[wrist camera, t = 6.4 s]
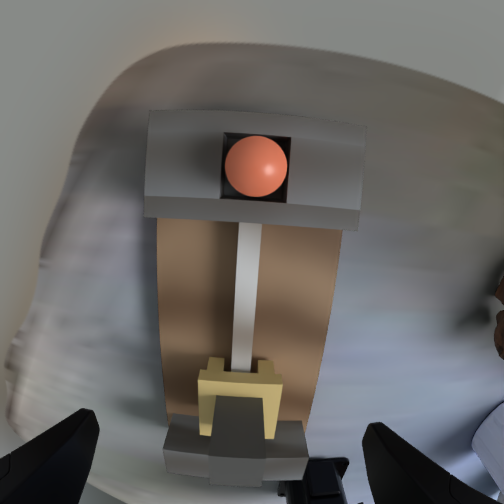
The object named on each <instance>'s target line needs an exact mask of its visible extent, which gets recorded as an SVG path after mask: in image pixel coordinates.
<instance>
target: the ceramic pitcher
mask: <svg viewBox="0 0 504 504" xmlns="http://www.w3.org/2000/svg"><path fill="white" fill-rule="evenodd" d="M497 501H498V502H500V503H503V504H504V495H503V494H502V492H501V491H500V493H499V496H498V499H497Z"/></svg>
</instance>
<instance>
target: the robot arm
mask: <svg viewBox="0 0 504 504" xmlns="http://www.w3.org/2000/svg"><path fill="white" fill-rule="evenodd" d="M99 431H100V428H99V424H98V422H97V419H96V416H95V413H94V411H93V410H89V409H85V408H81V409H79V410H78V411H76V412H75V413H73V414H72V415H70V416H69V417H67V418H65V419H64V420H62V421H61V422H59V423H58V424H56V425H54V426H53V427H51V428H50V429H48V430H46V431H45V432H43V433H42V434H40V435H38V436H37V437H35V438H34V439H32V440H30V441H29V442H27V443H26V444H24V445H22V446H21V447H19V448H17V449H16V450H14V451H12V452H11V454H7V455H6V456H4V457H2V458H0V504H78V503H79V500H80V497H81V494H82V492H83V489H84V486H85V483H86V480H87V478H88V475H89V472H90V469H91V465H92V461H93V457H94V453H95V448H96V444H97V440H98V436H99ZM362 447H363V453H364V458H365V464H366V471H367V476H368V481H369V485H370V489H371V492H372V495H373V499H374V502H375V504H503V503H500V502H498V501H496V500H494V499H492V498H490V497H488V496H486V495H484V494H482V493H480V492H479V491H477V490H475V489H473V488H471V487H470V486H468V485H466V484H465V483H463V482H462V481H460V480H459V479H457V478H456V477H455V476H453V475H450V473H449V472H447V471H446V470H445V469H443V468H442V467H440V466H439V465H438V464H436V463H435V462H434V461H432V460H431V459H429V458H428V457H427V456H425V455H424V454H423V453H421V452H420V451H419V450H417V449H416V448H415V447H413V446H412V445H411V444H409V443H408V442H407V441H405V440H404V439H403V438H401V437H400V436H399V435H397V434H396V433H395V432H394V431H392V430H391V429H390V428H388V427H387V426H386V425H385V424H383V423H382V422H375V423H370V424H369V425H368V427H367V429H366V432H365V434H364V437H363V439H362ZM348 465H349V459H347V458H342V459H331V460H317V461H308V462H307V465H306V468H305V471H304V474H303V477H302V480H280V484H279V488H278V491H277V494H278V496H280V497H286V502H287V504H348V503H347V499H346V496H345V492H344V488H343V484H342V481H341V480H342V478H343V476H344V474H345V472H346V469H347V467H348ZM358 504H363V502H361V503H358Z"/></svg>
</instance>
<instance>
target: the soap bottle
mask: <svg viewBox="0 0 504 504" xmlns="http://www.w3.org/2000/svg"><path fill="white" fill-rule="evenodd" d="M472 448H473V450H474V451H475V452H476V454H477V455H478V457H479V458H480V460H481V461H482V463H483V464H484V466H485V467H486V469H487V470H488V472H489V473H490V475H491V476H492V478H493V480H494V481H495V483H496V484H497V486H498V487H499V489H500V490H501V492H502V494H503V495H504V403H502V404H501V405H499V406H498V407H497V408H496V409H495V410H494V411H493V412H491V413H490V415H489V416H488V417H487V418H486V419H485V420H484V421H483V423H482V424H481V425H480V427H479V428H478V430H477V431H476V433H475V435H474V437H473V439H472Z"/></svg>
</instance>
